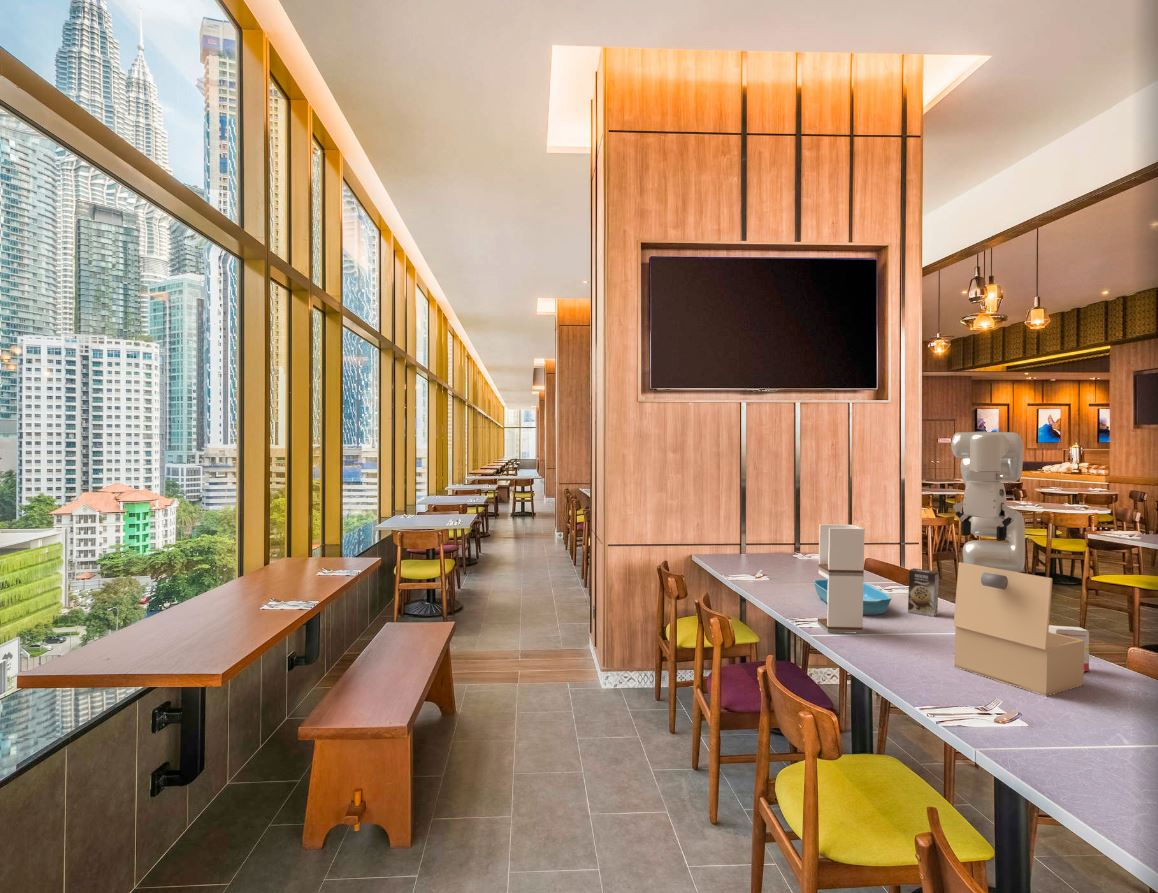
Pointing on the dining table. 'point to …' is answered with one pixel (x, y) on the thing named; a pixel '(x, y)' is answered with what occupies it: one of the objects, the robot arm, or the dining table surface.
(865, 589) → the casserole dish
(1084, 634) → the ink box
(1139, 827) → the dining table surface
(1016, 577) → the carton lid
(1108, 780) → the dining table surface
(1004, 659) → the carton
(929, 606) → the dessert mix box
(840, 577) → the display case
